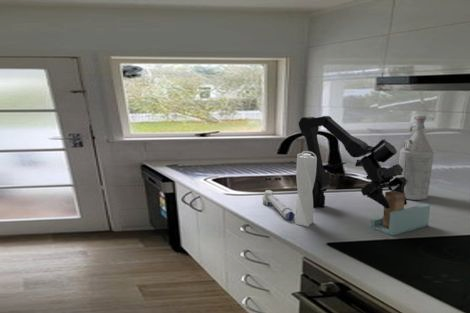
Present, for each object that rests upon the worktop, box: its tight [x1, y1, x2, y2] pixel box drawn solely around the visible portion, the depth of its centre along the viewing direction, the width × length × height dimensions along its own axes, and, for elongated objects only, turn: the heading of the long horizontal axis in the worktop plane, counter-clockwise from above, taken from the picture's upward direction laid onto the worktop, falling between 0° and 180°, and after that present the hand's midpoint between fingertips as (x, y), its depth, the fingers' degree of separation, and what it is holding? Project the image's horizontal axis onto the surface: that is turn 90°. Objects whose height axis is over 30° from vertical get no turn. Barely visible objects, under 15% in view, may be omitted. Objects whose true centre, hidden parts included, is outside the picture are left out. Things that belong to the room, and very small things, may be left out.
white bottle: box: [397, 113, 435, 201], centre depth 156 cm, size 13×17×40 cm
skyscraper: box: [294, 150, 317, 227], centre depth 121 cm, size 8×8×28 cm
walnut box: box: [383, 190, 405, 229], centre depth 117 cm, size 4×4×13 cm
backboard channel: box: [370, 203, 431, 236], centre depth 120 cm, size 9×20×8 cm, turn 118°
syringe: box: [261, 189, 296, 221], centre depth 138 cm, size 5×7×25 cm
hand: (397, 206), depth 115 cm, fingers open, 9 cm apart
